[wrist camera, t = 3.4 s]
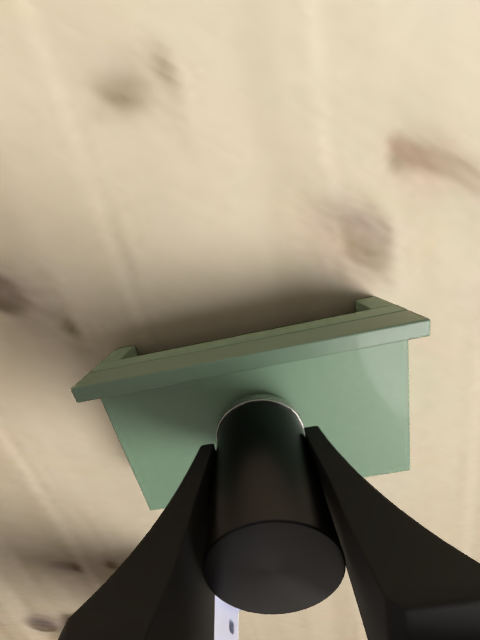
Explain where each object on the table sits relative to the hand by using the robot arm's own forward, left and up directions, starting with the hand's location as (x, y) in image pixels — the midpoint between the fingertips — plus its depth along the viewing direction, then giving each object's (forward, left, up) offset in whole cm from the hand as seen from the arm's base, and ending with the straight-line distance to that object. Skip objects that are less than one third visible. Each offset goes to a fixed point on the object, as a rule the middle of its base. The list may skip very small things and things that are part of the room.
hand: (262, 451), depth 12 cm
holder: (0, 0, -1) cm, 1 cm away
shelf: (0, 0, -5) cm, 5 cm away
